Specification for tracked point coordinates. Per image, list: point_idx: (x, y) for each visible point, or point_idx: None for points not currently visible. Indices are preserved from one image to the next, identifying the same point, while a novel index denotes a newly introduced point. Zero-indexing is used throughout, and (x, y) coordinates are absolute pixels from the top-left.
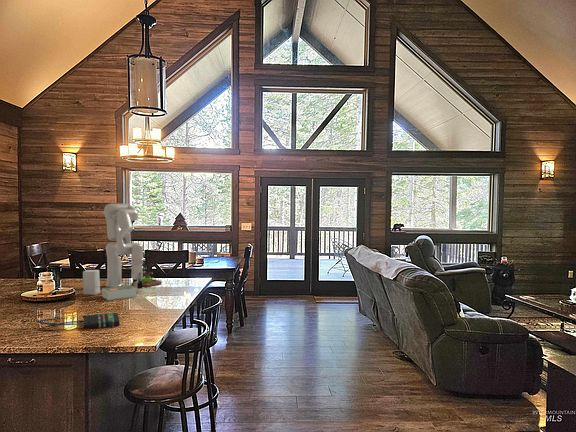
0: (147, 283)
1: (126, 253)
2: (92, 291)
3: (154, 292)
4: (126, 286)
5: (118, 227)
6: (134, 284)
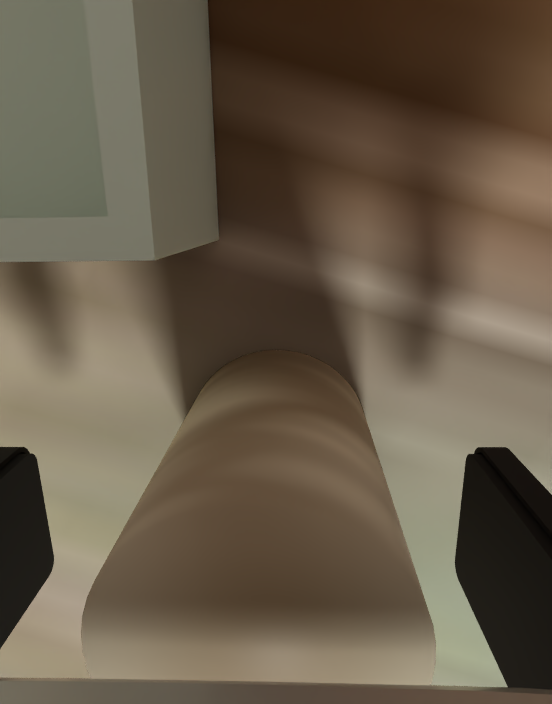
0: None
1: None
2: None
3: (62, 671)
4: (107, 88)
5: None
6: (183, 469)
